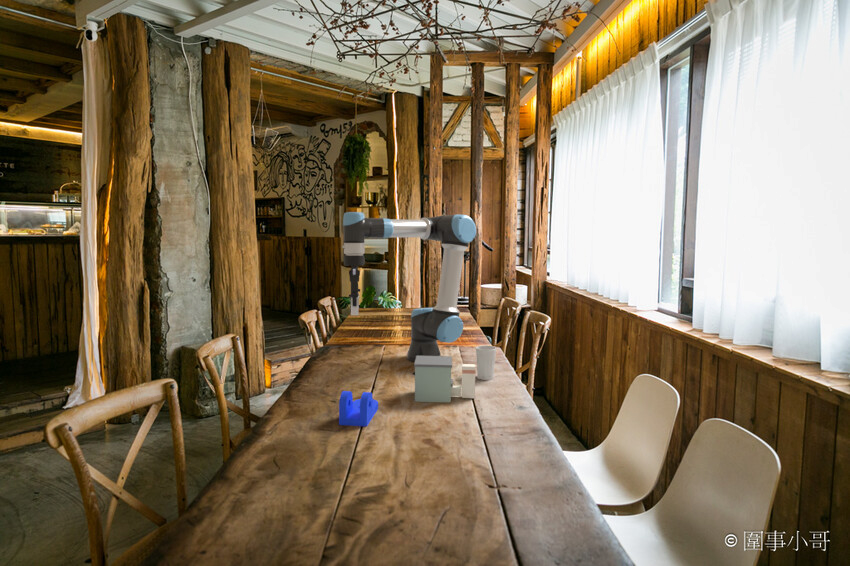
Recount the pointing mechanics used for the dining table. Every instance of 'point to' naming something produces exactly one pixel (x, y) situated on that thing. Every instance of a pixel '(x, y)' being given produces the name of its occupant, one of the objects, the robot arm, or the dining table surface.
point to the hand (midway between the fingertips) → (355, 312)
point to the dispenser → (433, 378)
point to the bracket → (356, 409)
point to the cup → (485, 362)
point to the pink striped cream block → (466, 382)
